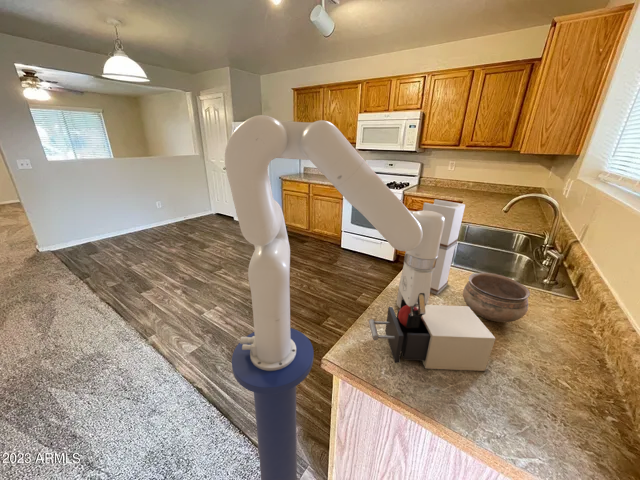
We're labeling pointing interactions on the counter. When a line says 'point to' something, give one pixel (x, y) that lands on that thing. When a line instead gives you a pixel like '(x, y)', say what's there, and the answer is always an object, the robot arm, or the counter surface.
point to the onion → (404, 314)
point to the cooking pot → (496, 297)
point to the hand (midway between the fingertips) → (408, 318)
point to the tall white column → (445, 240)
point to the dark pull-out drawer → (403, 338)
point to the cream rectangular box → (456, 338)
